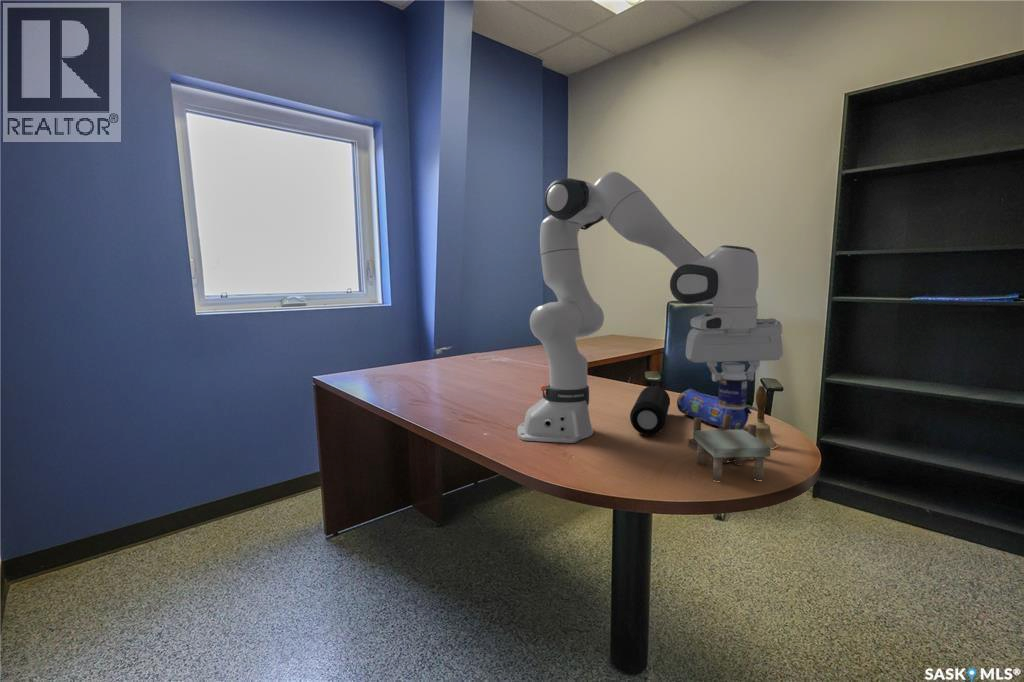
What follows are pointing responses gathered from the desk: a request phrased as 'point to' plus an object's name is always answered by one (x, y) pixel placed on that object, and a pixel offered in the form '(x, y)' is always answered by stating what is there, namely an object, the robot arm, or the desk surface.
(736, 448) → the small table
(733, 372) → the pill bottle
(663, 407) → the portable speaker
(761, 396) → the hand bell
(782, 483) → the desk surface
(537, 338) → the robot arm
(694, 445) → the upturned stool
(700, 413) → the pencil case
